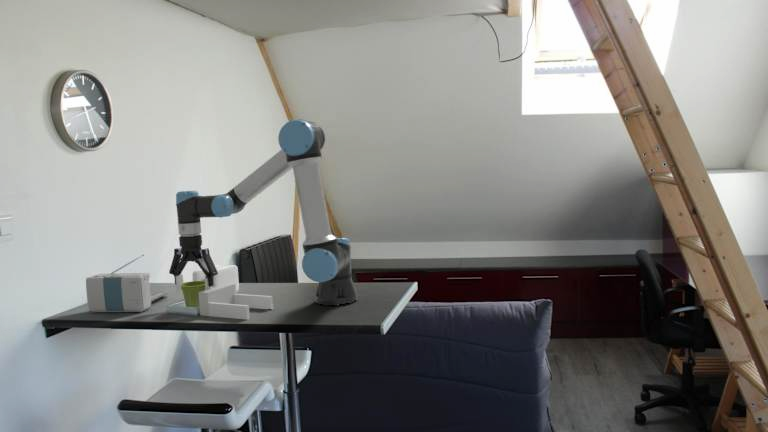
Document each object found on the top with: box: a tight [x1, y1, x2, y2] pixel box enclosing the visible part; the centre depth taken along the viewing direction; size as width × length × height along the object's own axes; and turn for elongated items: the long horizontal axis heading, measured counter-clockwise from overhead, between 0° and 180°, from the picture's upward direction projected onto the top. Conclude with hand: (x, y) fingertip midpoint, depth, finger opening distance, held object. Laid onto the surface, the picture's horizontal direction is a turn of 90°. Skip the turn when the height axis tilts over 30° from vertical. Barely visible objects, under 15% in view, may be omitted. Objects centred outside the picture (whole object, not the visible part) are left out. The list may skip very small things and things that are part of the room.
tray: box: [166, 299, 201, 317], centre depth 208 cm, size 13×13×2 cm
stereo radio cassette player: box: [85, 254, 152, 314], centre depth 210 cm, size 21×8×20 cm, turn 82°
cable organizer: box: [191, 264, 240, 294], centre depth 227 cm, size 15×11×12 cm
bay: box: [198, 284, 274, 321], centre depth 202 cm, size 20×14×8 cm
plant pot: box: [180, 280, 206, 308], centre depth 207 cm, size 9×9×9 cm
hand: (194, 294), depth 207 cm, fingers open, 13 cm apart
